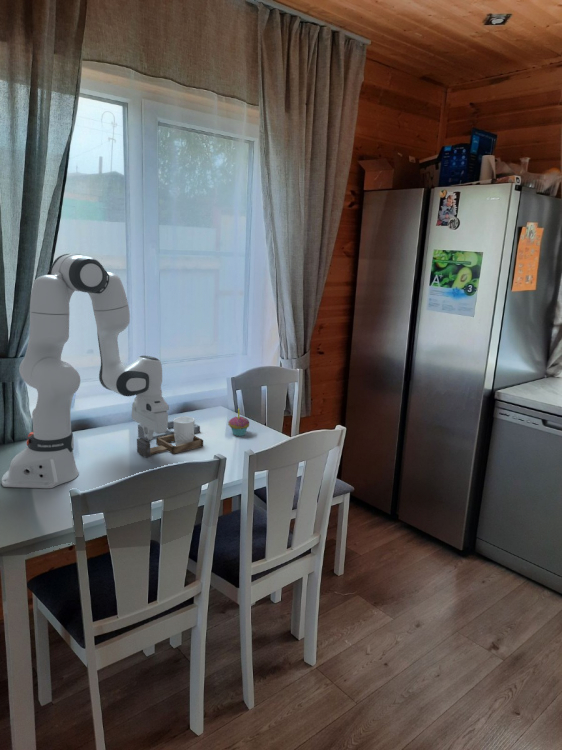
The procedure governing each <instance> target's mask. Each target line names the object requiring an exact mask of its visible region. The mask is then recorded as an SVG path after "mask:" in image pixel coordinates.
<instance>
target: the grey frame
mask: <svg viewBox="0 0 562 750" xmlns="http://www.w3.org/2000/svg"><path fill="white" fill-rule="evenodd" d="M172 428H174V421H173V420H168V429H167V431H166V432H165V433H160V434H157V433H155V432H154V433H153V438H152V439H151V440H153V439H156V438H158V437H163V436H167V435H172V434H174V430H171V429H172ZM200 431H201V426H200V425H199V424H196V423H195V425H194V434H197V433H200ZM137 435H138V436H137V437H138V439H140V438H143V439H145V440H146V441H148V442H149V441H150V440H148V439H147V438H145V437H144V431H143V425H141V424H139V423H138V424H137Z"/></svg>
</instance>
